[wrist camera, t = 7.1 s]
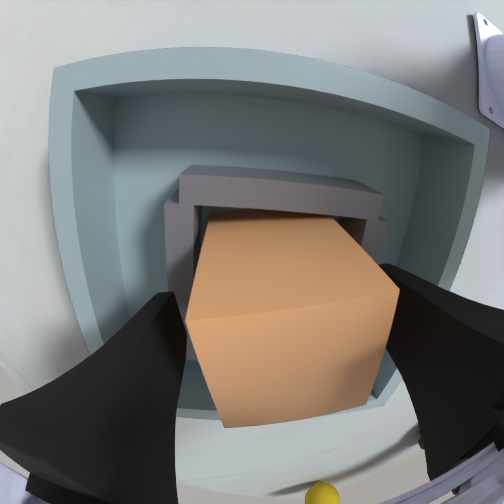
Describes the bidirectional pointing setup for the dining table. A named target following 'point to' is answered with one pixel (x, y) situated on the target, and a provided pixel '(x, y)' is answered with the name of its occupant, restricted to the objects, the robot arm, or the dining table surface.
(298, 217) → the plug
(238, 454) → the dining table surface
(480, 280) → the dining table surface
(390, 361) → the socket box
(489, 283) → the dining table surface
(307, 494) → the lemon
